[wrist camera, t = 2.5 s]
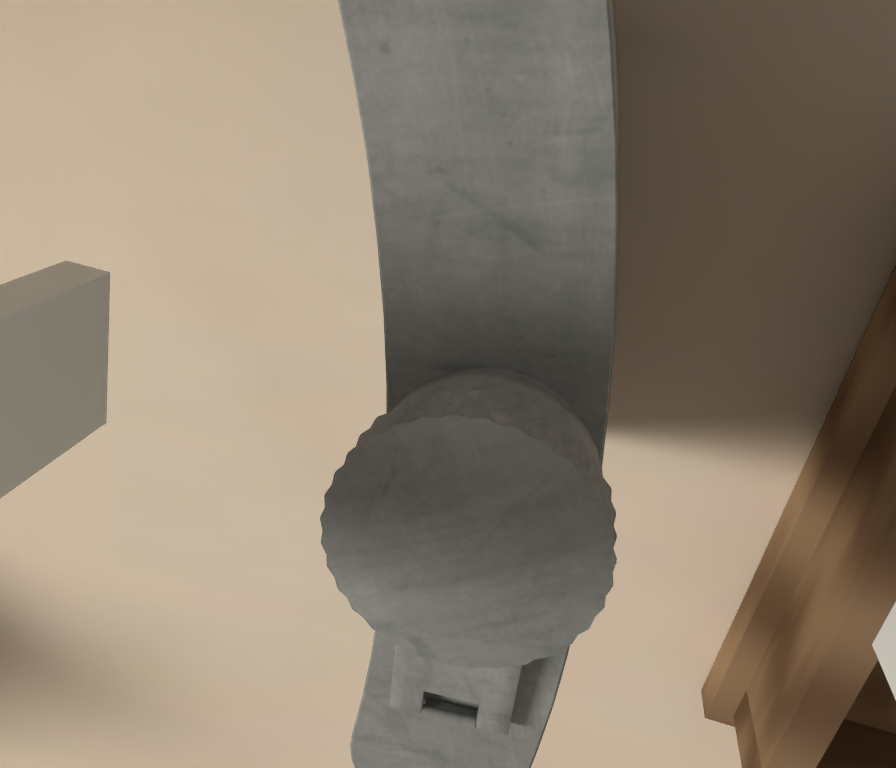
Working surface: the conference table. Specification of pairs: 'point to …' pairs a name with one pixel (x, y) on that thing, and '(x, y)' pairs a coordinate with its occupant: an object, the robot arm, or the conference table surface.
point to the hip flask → (481, 370)
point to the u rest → (824, 591)
